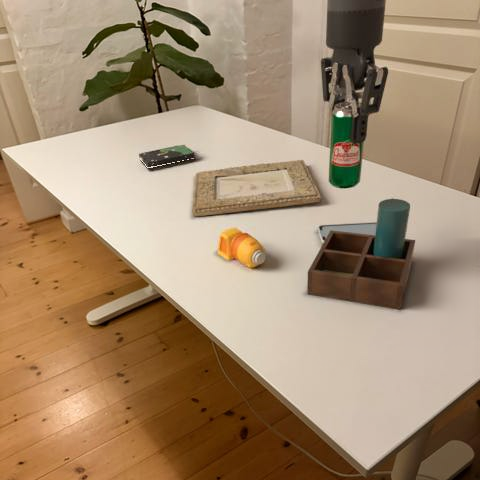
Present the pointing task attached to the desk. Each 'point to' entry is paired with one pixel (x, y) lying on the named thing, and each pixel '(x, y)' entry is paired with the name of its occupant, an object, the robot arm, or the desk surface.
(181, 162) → the disk drive
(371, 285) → the brown wooden compartment tray
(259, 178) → the picture frame
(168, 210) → the desk surface
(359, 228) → the smartphone
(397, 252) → the can
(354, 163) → the soda can
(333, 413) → the desk surface
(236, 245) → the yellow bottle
